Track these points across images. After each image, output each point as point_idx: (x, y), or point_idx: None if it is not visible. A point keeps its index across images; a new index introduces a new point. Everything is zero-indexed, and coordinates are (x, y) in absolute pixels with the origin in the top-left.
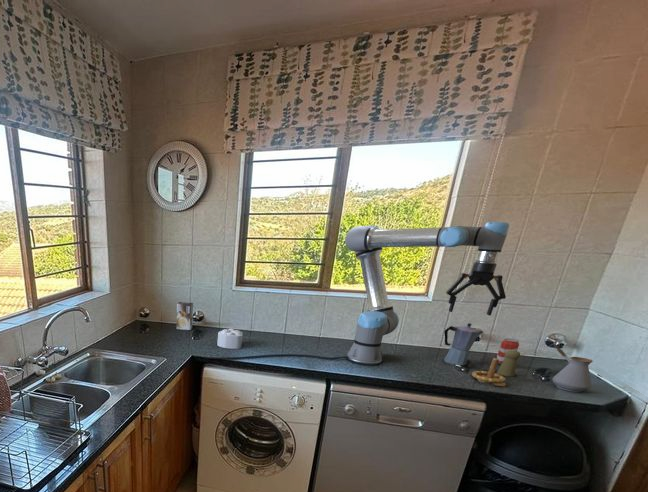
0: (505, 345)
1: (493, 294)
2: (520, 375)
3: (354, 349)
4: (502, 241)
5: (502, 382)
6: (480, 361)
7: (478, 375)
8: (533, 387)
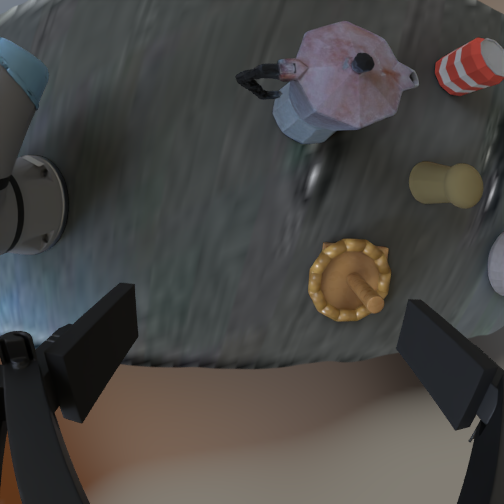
0: (474, 71)
1: (468, 471)
2: None
3: None
4: None
5: None
6: None
7: (318, 300)
8: (440, 283)
